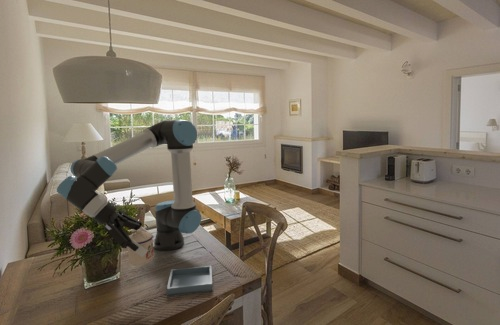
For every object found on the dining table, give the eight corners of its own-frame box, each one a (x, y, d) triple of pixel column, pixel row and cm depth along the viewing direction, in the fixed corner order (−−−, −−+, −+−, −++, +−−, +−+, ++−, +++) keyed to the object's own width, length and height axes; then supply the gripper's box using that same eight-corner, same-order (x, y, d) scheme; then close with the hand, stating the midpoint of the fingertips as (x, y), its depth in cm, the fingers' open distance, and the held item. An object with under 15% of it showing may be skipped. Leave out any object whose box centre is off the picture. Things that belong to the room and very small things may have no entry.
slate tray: (171, 276, 115) (171, 269, 115) (211, 271, 118) (211, 265, 118) (167, 296, 102) (166, 288, 102) (212, 290, 105) (212, 283, 104)
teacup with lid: (152, 264, 99) (149, 233, 97) (125, 267, 97) (121, 236, 96) (158, 249, 110) (155, 221, 109) (134, 251, 109) (131, 223, 107)
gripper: (105, 207, 111) (148, 239, 115) (78, 231, 87) (134, 270, 92) (118, 193, 111) (160, 226, 115) (94, 213, 87) (149, 253, 92)
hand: (148, 246), depth 104 cm, fingers closed on teacup with lid, 12 cm apart
